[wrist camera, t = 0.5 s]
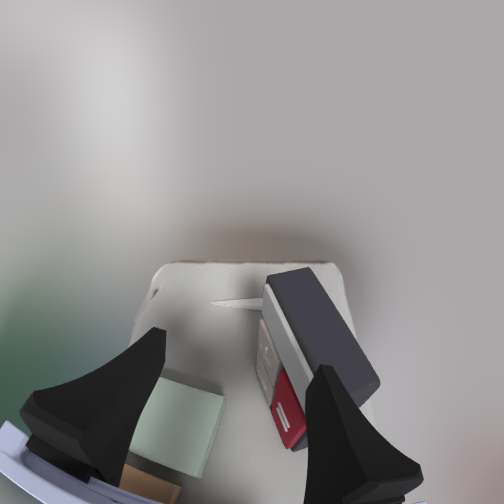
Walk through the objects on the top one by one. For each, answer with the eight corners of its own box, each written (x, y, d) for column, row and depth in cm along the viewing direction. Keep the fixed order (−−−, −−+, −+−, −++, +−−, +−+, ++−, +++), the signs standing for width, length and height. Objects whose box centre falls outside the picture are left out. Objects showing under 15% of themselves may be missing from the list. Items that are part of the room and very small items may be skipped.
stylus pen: (319, 301, 39) (321, 292, 37) (321, 316, 37) (323, 307, 35) (212, 299, 40) (211, 290, 38) (210, 314, 38) (208, 305, 36)
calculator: (252, 369, 30) (256, 274, 21) (287, 359, 31) (308, 264, 22) (284, 455, 22) (319, 411, 13) (324, 441, 23) (383, 383, 14)
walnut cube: (167, 525, 15) (152, 529, 12) (121, 504, 16) (100, 502, 13) (182, 486, 19) (170, 484, 16) (137, 467, 20) (118, 460, 17)
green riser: (201, 479, 20) (196, 476, 18) (132, 452, 22) (122, 446, 20) (226, 406, 27) (224, 396, 25) (162, 386, 28) (155, 375, 26)
